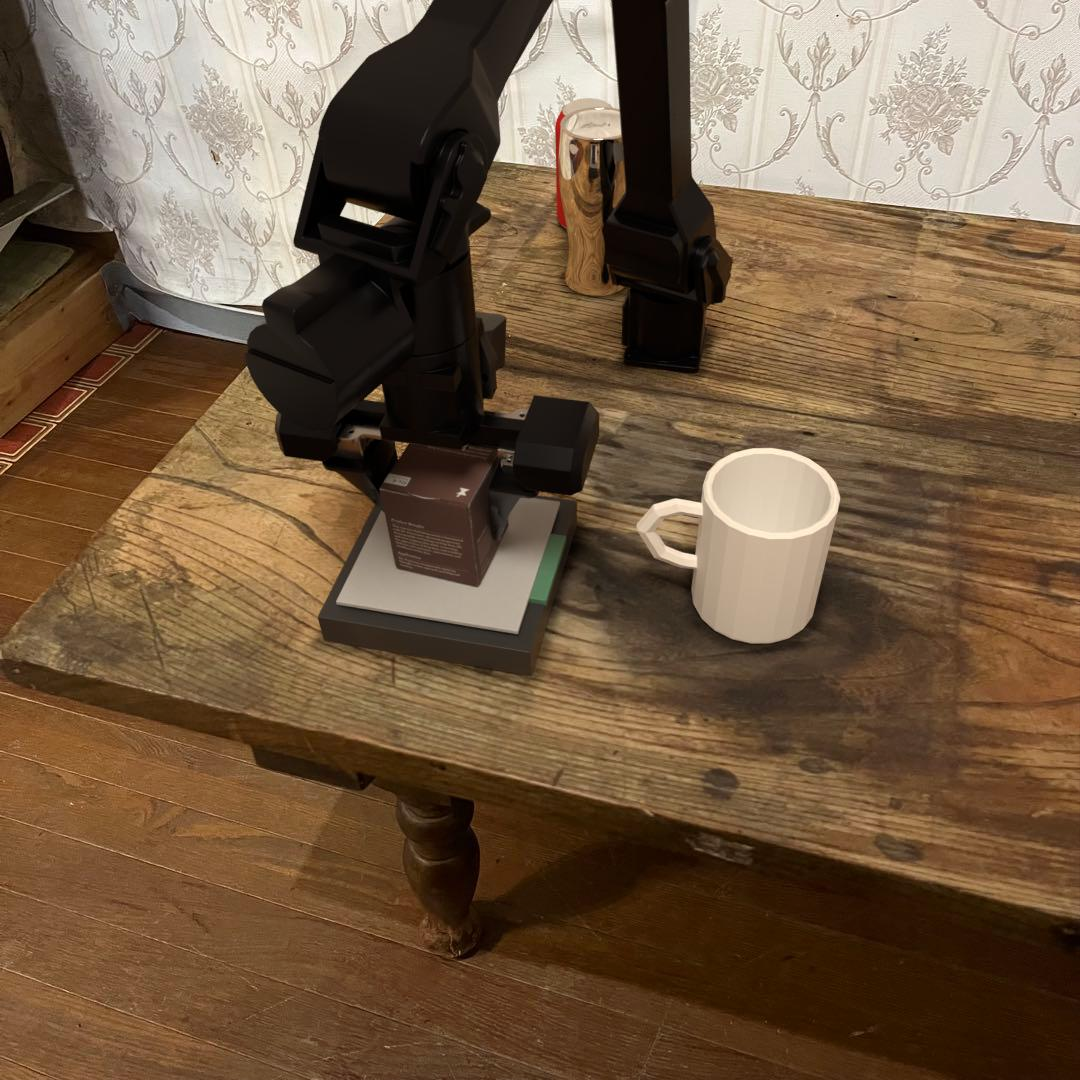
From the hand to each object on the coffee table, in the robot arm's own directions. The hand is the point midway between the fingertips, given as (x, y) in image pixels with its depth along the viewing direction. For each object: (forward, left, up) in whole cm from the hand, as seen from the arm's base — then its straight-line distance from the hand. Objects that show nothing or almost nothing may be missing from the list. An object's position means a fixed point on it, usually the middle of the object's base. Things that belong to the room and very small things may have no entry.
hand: (450, 528), depth 68 cm
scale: (0, 0, -5) cm, 5 cm away
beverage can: (+1, -50, -5) cm, 50 cm away
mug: (-18, -2, -5) cm, 19 cm away
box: (0, 0, -2) cm, 2 cm away
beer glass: (-2, -40, -5) cm, 40 cm away
